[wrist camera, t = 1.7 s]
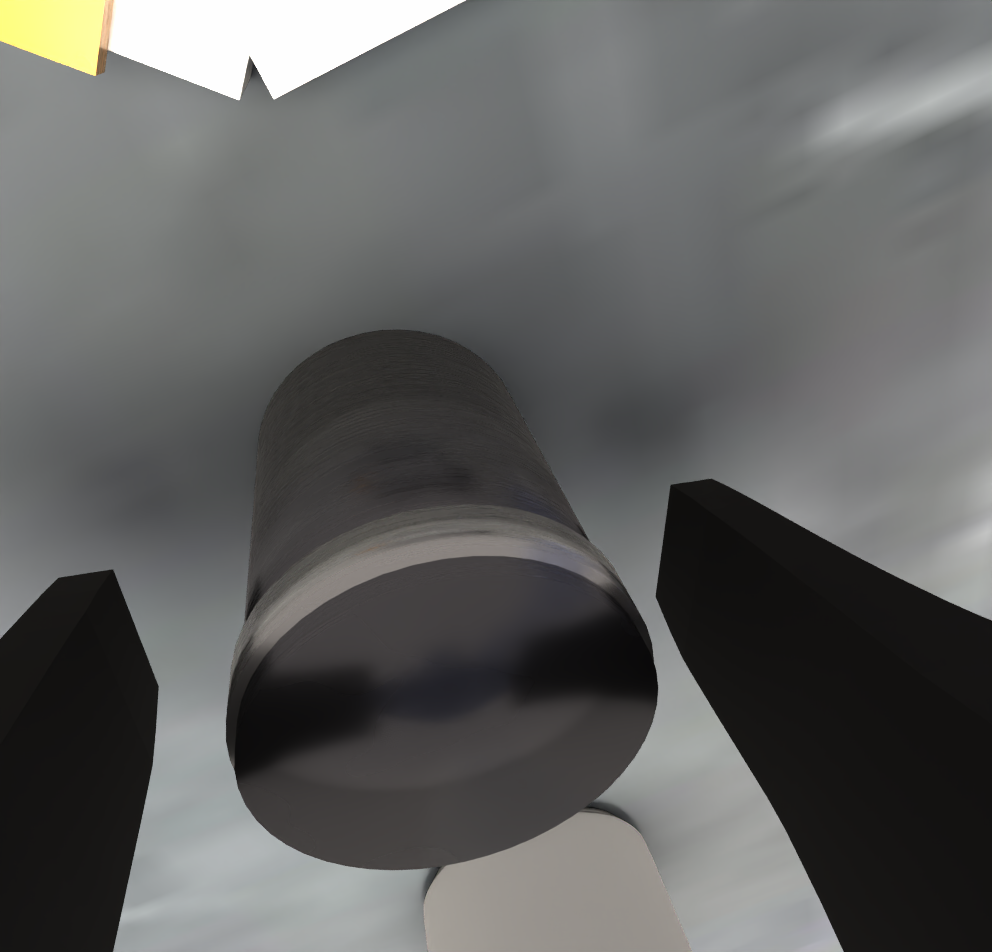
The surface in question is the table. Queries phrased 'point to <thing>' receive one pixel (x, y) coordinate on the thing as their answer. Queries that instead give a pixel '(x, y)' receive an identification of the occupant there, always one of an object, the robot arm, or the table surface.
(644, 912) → the can
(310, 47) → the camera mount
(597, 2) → the table surface
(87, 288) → the table surface
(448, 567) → the lens
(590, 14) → the table surface
